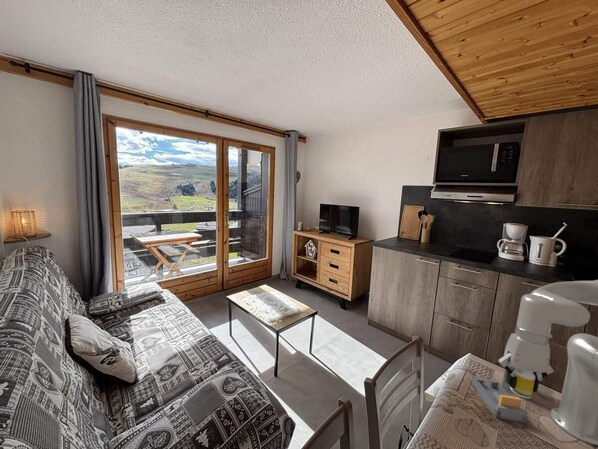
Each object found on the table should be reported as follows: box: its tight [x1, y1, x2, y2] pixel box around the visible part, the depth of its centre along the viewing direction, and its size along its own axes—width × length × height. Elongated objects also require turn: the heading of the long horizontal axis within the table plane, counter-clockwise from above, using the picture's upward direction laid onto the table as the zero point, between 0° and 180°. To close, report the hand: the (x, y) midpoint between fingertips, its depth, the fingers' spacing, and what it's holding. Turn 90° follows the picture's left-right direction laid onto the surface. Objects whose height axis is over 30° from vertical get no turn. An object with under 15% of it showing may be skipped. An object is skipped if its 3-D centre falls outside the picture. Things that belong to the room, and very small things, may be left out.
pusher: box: [493, 392, 522, 409], centre depth 88 cm, size 6×8×6 cm
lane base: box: [471, 375, 528, 424], centre depth 91 cm, size 9×16×4 cm, turn 171°
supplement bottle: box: [510, 369, 535, 399], centre depth 79 cm, size 5×5×10 cm
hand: (521, 386), depth 80 cm, fingers closed on supplement bottle, 5 cm apart
